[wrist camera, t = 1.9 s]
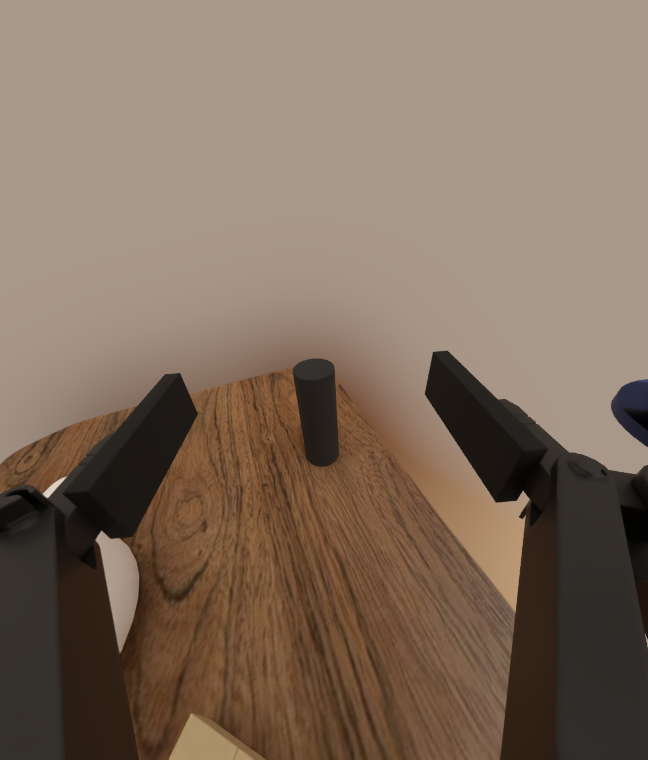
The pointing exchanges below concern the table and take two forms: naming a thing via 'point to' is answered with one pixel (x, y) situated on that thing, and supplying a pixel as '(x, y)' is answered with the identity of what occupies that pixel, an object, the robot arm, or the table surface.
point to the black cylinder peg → (317, 409)
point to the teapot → (117, 579)
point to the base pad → (209, 743)
